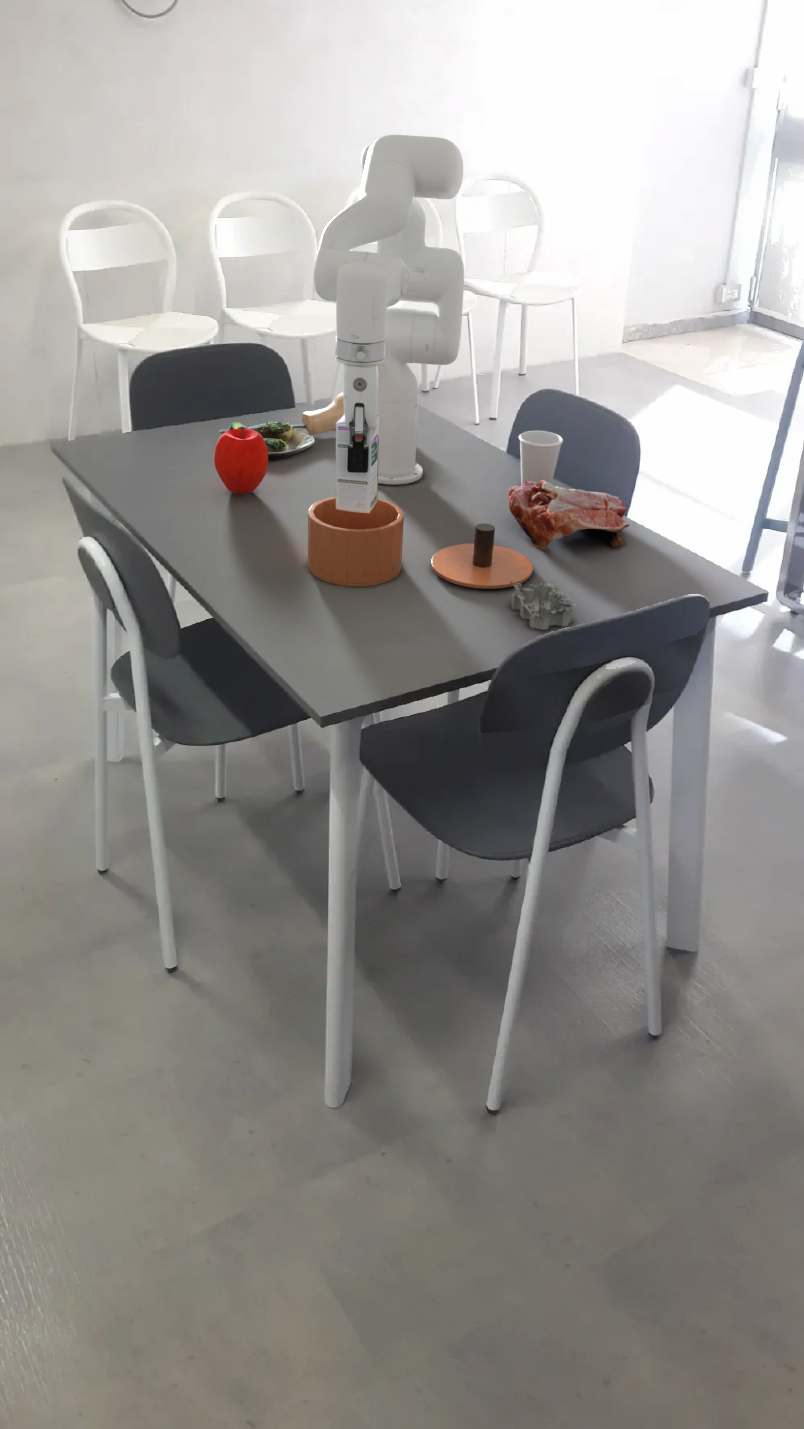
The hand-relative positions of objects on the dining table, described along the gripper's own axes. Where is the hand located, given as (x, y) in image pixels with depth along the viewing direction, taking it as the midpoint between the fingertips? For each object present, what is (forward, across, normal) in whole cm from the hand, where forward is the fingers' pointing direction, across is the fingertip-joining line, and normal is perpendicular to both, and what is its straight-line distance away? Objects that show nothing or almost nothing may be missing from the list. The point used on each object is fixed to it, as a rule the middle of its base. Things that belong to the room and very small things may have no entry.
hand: (357, 462), depth 199 cm
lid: (+17, 0, -21) cm, 27 cm away
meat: (+18, +18, -38) cm, 46 cm away
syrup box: (+7, 0, 0) cm, 7 cm away
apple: (+18, +32, +21) cm, 42 cm away
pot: (+18, 0, 0) cm, 18 cm away
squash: (+18, +69, +1) cm, 71 cm away
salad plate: (+18, +58, +18) cm, 63 cm away
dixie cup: (+18, +39, -35) cm, 55 cm away
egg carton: (+18, -16, -29) cm, 38 cm away
